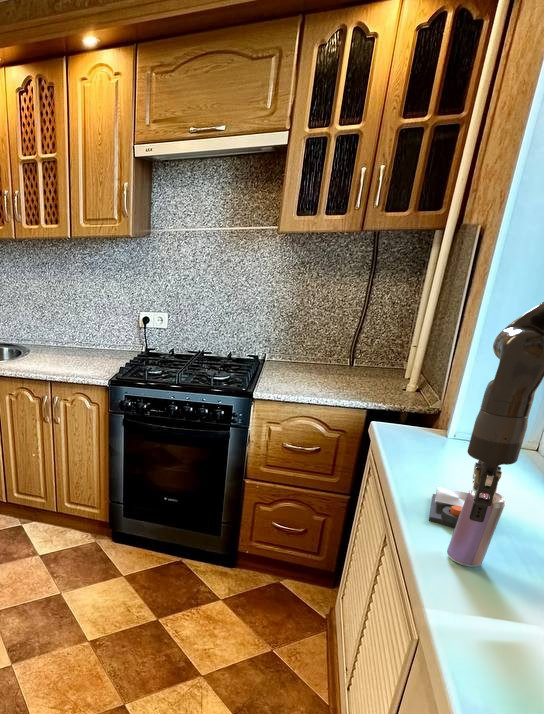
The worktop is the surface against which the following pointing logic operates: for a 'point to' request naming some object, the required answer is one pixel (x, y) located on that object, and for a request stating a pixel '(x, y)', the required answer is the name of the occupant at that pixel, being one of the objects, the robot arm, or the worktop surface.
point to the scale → (442, 514)
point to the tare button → (456, 510)
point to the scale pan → (450, 497)
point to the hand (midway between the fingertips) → (475, 511)
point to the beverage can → (474, 532)
